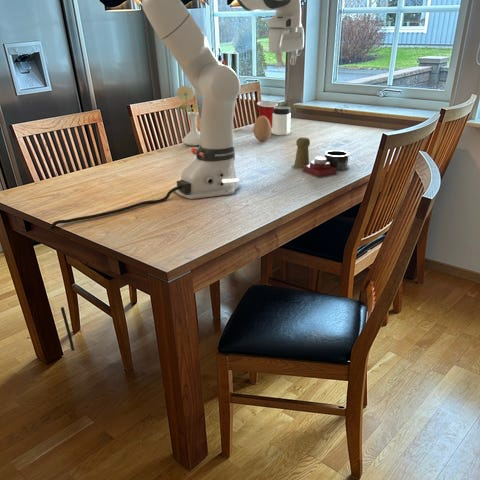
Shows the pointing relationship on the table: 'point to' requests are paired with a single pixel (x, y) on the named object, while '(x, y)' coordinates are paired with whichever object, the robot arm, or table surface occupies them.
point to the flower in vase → (185, 95)
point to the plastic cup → (267, 109)
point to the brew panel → (319, 169)
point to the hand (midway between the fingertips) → (286, 65)
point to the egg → (262, 128)
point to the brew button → (320, 160)
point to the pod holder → (337, 159)
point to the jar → (281, 120)
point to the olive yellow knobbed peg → (302, 152)
